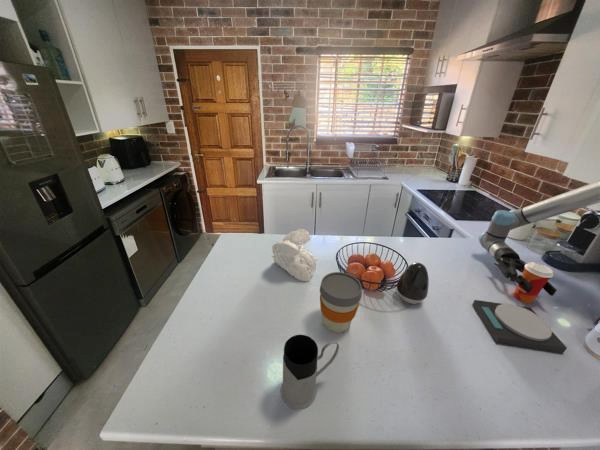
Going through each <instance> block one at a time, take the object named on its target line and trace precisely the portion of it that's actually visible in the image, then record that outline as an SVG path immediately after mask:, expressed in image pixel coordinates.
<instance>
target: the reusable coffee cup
mask: <svg viewBox="0 0 600 450" xmlns="http://www.w3.org/2000/svg"><path fill="white" fill-rule="evenodd" d="M362 292H363V286H362V283H361V282H360V280H359V279H358V278H356V277H355V276H354V275H352V274H350V273H346V272H342V271H334V272H330V273H328V274H327V273H326V275H324V276H323V277H322V279H321V281H320V287H319V293H320V294H319V305H320V307H319V308H320V312H321V316H322V323H323V325H324V326H325V328H326V329H328V330H330V331H331V332H333V333H342V332H346V331H347V330H348V329H349V328H350V326H351V324H352V321H353V319H354V318H355V317H356V314H357V311H358V309H359V307H360V301H361V300H362V295H363V293H362Z"/></svg>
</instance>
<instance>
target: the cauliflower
mask: <svg viewBox="0 0 600 450" xmlns="http://www.w3.org/2000/svg"><path fill="white" fill-rule="evenodd" d="M310 240H311V234H310V233H309V231H307V230H306V229H303V228H299V229H297V230H292V231H290V232H288V233H287V234H286V235H285V236H284V237H283V238H282V240H281V241H277V242H276V243H274V244H273V245H272V247H271V252H272V255H271V258H273V259H272V260H273V262H274V263H275V264H276V266H280V268H281V269H283V270H284V271H287V273H288V274H289V275H290V276H292V277H294V278H295V279H296V280H298V281H301V282H308V281H310V280H311V278H313V276H314V275H315V273H316V270H317V261H318V259H317V258H315V256H314V254H313V253H311V250H306V249H305V247H304V246H305V245H306V244H307V243H309V241H310Z"/></svg>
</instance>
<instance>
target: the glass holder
mask: <svg viewBox="0 0 600 450" xmlns="http://www.w3.org/2000/svg"><path fill="white" fill-rule="evenodd" d="M332 345H336V347H335V351H334V353H333V355H332V356H331V357H330V359H329V360H328V361H327V362H326V363H325V364H324V365H323V366H322V367H321V368H320V369H319V370H318V361H320V360H321V359H322V358H323V357H324V353H325V350H326V349H327V348H328V347H329V346H332ZM339 350H340V344H339V343H338V341H337V340H331V341H330V340H329V341H328V342H326V343H325V344H324V345H323V346H322V348H321V350H320V355H319V348H318V344H317V343H316V341H315V340H314V339H313V338H312V337H311V336H308V335H305V334H295V335H293V336H291V337H289V338H288V339H287V340H286V341H285V344H284V345H283V355H282V383H281V387H280V395H281V398H282V401H283V402H284V403H285V404H286V405H287V406H288V407H289V408H291V409H293V410H298V411H299V410H304V409H305V410H306V409H307V408H308V407H310V406H311V405H312V404H313V403H314V402H315V400H316V397H317V385H316V384H317V383H316V382H317V378H318V376H319V375H320V374H321V373H323V372H324V371H325V370H326V369H327V368H328V367H330V365H331V364H332V363H333V361H335V359H336V358H337V355H338V353H339Z"/></svg>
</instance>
